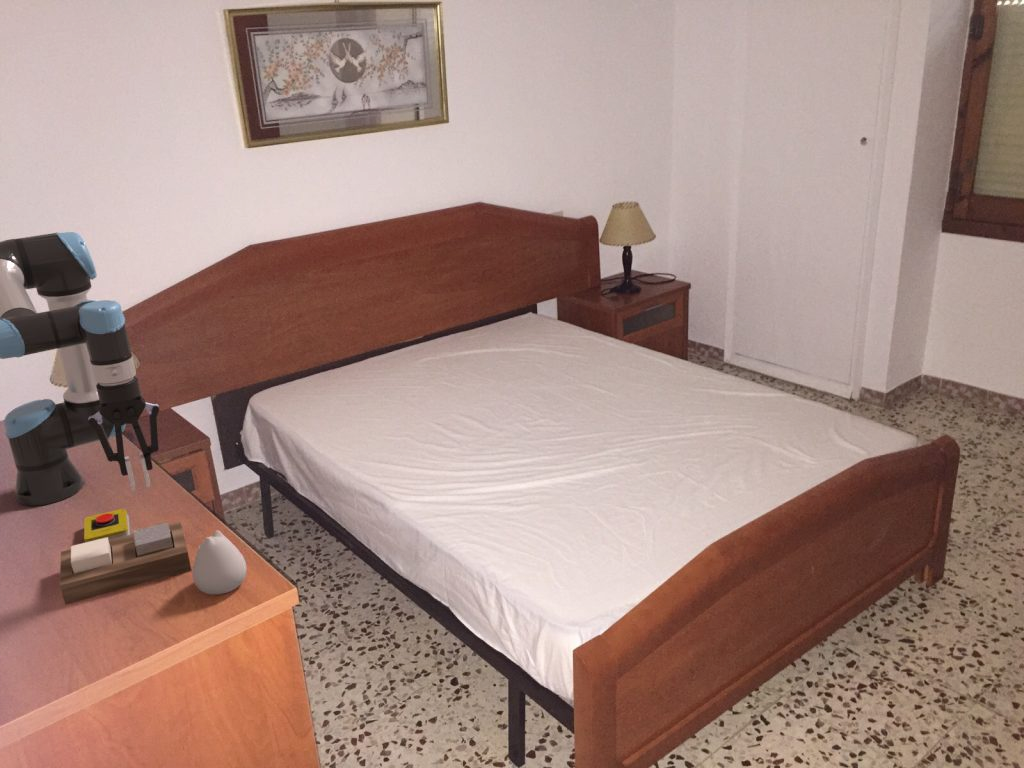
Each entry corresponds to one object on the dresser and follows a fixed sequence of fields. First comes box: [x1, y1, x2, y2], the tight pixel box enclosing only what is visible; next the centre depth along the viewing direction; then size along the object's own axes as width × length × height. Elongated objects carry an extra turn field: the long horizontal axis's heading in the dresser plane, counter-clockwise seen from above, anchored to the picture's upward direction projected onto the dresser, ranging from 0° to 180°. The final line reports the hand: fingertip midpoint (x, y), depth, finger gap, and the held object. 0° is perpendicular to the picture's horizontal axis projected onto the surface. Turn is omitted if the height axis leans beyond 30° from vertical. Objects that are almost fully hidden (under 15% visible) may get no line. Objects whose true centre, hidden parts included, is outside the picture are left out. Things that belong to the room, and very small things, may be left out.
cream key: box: [70, 537, 112, 574], centre depth 171 cm, size 7×7×3 cm
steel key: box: [132, 522, 173, 557], centre depth 176 cm, size 7×7×3 cm
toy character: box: [192, 529, 248, 596], centre depth 167 cm, size 10×10×12 cm
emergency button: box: [83, 508, 132, 543], centre depth 190 cm, size 9×4×15 cm
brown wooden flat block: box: [59, 521, 192, 605], centre depth 175 cm, size 14×24×4 cm, turn 116°
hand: (140, 485), depth 171 cm, fingers open, 2 cm apart
